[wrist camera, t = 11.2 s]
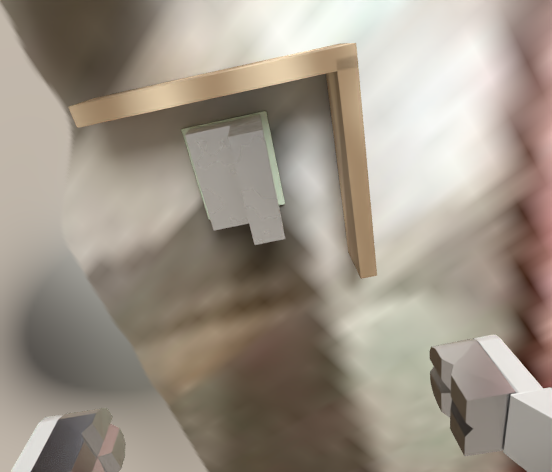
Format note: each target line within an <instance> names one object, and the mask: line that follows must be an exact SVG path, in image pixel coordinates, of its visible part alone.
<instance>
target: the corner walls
mask: <svg viewBox="0 0 552 472" xmlns="http://www.w3.org/2000/svg"><path fill="white" fill-rule="evenodd" d="M322 74H326V79H327V87H328V95H329V103H330V111H331V119H332V127H333V134H334V142H335V150H336V158H337V166H338V174H339V182H340V190H341V198H342V205H343V213H344V221H345V229H346V237H347V245H348V252H349V255H350V257H351V259H352V261H353V263H354V265H355V267H356V269H357V271H358V273H359V276H360V278H361V279H362V278H367V277H372V276H377V270H376V259H375V248H374V237H373V226H372V215H371V203H370V192H369V181H368V170H367V159H366V148H365V137H364V125H363V114H362V103H361V92H360V81H359V70H358V59H357V48H356V43H345V44H337V45H332V46H328V47H323V48H319V49H314V50H310V51H305V52H301V53H296V54H291V55H287V56H282V57H278V58H273V59H269V60H264V61H260V62H255V63H251V64H246V65H242V66H237V67H233V68H228V69H224V70H219V71H215V72H210V73H206V74H201V75H197V76H192V77H187V78H183V79H178V80H174V81H169V82H165V83H160V84H156V85H151V86H147V87H142V88H138V89H133V90H129V91H124V92H120V93H115V94H111V95H106V96H102V97H97V98H93V99H90V100H87V101H84V102H81V103H78V104H75V105H72V106H69V110H70V112H71V114H72V117H73V119H74V121H75V124H76V126H77V128H79V127H84V126H88V125H93V124H98V123H102V122H107V121H111V120H116V119H120V118H125V117H130V116H134V115H139V114H143V113H148V112H152V111H157V110H162V109H166V108H171V107H175V106H180V105H184V104H189V103H194V102H198V101H203V100H207V99H212V98H216V97H221V96H226V95H230V94H235V93H239V92H244V91H248V90H253V89H258V88H262V87H267V86H271V85H276V84H280V83H285V82H290V81H294V80H299V79H303V78H308V77H312V76H317V75H322Z"/></svg>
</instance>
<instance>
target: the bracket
mask: <svg viewBox="0 0 552 472" xmlns="http://www.w3.org/2000/svg"><path fill="white" fill-rule="evenodd" d="M185 137H186V140H187V144H188V147H189V150H190V154H191V157H192V160H193V164H194V167H195V170H196V173H197V177H198V180H199V183H200V187H201V190H202V193H203V197H204V200H205V203H206V207H207V210H208V213H209V216H210V220H211V223H212V226H213V230H214V231H215V230H219V229H224V228H229V227H234V226H239V225H244V224H249V225H250V229H251V233H252V236H253V240H254V244H255V245H257V244H262V243H267V242H272V241H277V240H282V239H285V235H284V230H283V224H282V219H281V213H280V208H279V203H278V198H277V193H276V188H275V183H274V179H273V174H272V169H271V164H270V159H269V154H268V150H267V145H266V140H265V135H264V130H263V125H262V121H261V116H260V114H258V115H253V116H248V117H244V118H239V119H234V120H230V121H225V122H220V123H216V124H211V125H206V126H202V127H197V128H192V129H189V130H188V132H187V133H186V134H185Z"/></svg>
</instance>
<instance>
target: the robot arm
mask: <svg viewBox="0 0 552 472" xmlns="http://www.w3.org/2000/svg"><path fill="white" fill-rule="evenodd" d="M430 360H431V362H432V363H433V365H434V367H433V369H432V370H431V371H430V380H431V386H432V390H433V394H434V396H435V399H436V401H437V404H438V406H439V408H440V410H441V412H443V413H444V414H446V415H447V416H449V417H450V429H451V431H452V433H453V435H454V437H455V439H456V441H457V443H458V445H459V447H460V448H461V450H462V452H463V454H464V456H468V455H475V454H482V453H489V452H497V451H504V452H503V453H505V454H506V455H507V456H508V457H510V458H511V459H512V460H513V461H515V462H516V463H517V464H519V465H520V466H521V467H522V468H524V469H525V470H526V471H527V472H552V388H542V387H541V385H540V384H539V383H538V382H537V381H536V380H535V378H534V377H533V376H532V375H531V374H530V373H529V371H528V370H527V369H526V368H525V367H524V366H523V364H522V363H521V362H520V361H519V360H518V358H517V357H516V356H515V355H514V354H513V353H512V351H511V350H510V349H509V348H508V347H507V346H506V344H505V343H504V342H503V341H502V340H501V339H500V337H498V336H496V335H495V334H494V335H489V336H484V337H478V338H473V339H467V340H462V341H457V342H452V343H447V344H442V345H437V346H432V347H431V349H430ZM112 417H113V416H112V415H111V414H110V412H109V411H108V409H107V408H100V409H94V410H87V411H81V412H74V413H68V414H64V415H58V416H52V417H46V418H44V419H43V420H42V421H40V422H39V423H38V425H37V427H36V429H35V430H34V432H33V434H32V435H31V437H30V439H29V441H28V442H27V444H26V446H25V448H24V449H23V451H22V453H21V455H20V456H19V458H18V460H17V462H16V463H15V465H14V467H13V469H12V470H11V472H119V471H120V469H121V468H122V464H123V461H124V458H125V440H124V436H123V434H122V432H121V430H120V428H118V427H116V426H114V425H112V424H110V423H111V420H112Z"/></svg>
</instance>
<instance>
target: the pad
mask: <svg viewBox="0 0 552 472" xmlns="http://www.w3.org/2000/svg"><path fill="white" fill-rule="evenodd" d="M258 114H260V116H261V121H262V125H263V130H264V135H265V140H266V145H267V150H268V154H269V159H270V164H271V169H272V174H273V179H274V183H275V188H276V193H277V198H278V203H279V205H283V204H285V202H284V197H283V192H282V187H281V182H280V177H279V172H278V167H277V162H276V158H275V153H274V148H273V143H272V138H271V133H270V128H269V123H268V118H267V113H266V111H262V112H258V113H253V114H249V115H244V116H239V117H235V118H230V119H225V120H221V121H216V122H212V123H207V124H202V125H198V126H193V127H189V128H184V129H181V131H182V134H183V137H184V140H185V144H186V147H187V150H188V153H189V157H190V160H191V163H192V166H193V170H194V173H195V176H196V179H197V183H198V186H199V189H200V193H201V196H202V199H203V202H204V206H205V209H206V212H207V215H208V219H209V220H210V216H209V213H208V210H207V207H206V203H205V200H204V197H203V193H202V190H201V187H200V183H199V180H198V177H197V173H196V170H195V167H194V164H193V160H192V157H191V154H190V150H189V147H188V144H187V140H186V137H185V134H186V133H187V132H188V130H189V129H192V128H197V127H202V126H206V125H211V124H216V123H220V122H225V121H230V120H234V119H239V118H244V117H248V116H253V115H258Z"/></svg>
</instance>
